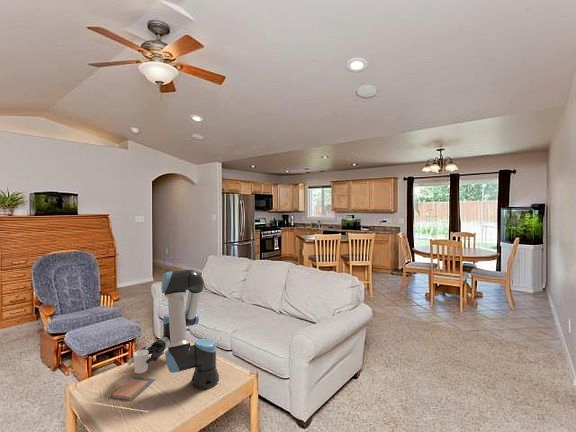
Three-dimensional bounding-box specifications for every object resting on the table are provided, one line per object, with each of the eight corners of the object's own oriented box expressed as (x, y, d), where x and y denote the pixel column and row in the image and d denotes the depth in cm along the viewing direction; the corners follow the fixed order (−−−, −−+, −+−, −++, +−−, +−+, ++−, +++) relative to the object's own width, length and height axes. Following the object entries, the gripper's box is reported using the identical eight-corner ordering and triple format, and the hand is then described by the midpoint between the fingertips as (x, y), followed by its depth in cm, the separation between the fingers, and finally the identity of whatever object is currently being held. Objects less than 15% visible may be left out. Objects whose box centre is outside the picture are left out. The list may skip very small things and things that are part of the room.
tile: (147, 381, 169) (129, 396, 155) (147, 384, 169) (129, 400, 155) (131, 378, 171) (112, 394, 157) (131, 381, 171) (112, 397, 157)
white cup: (145, 373, 168) (145, 356, 167) (130, 374, 167) (130, 356, 167) (151, 366, 175) (150, 349, 175) (137, 366, 175) (137, 349, 175)
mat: (156, 380, 173) (156, 379, 173) (131, 402, 154) (131, 401, 154) (134, 377, 176) (134, 376, 176) (107, 399, 156) (107, 398, 156)
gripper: (175, 352, 187) (151, 373, 164) (145, 349, 191) (118, 368, 168) (175, 341, 186) (151, 359, 164) (145, 337, 190) (118, 355, 168)
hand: (135, 364), depth 166 cm, fingers closed on white cup, 8 cm apart
